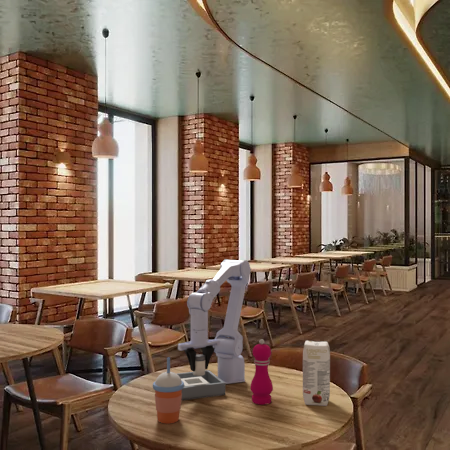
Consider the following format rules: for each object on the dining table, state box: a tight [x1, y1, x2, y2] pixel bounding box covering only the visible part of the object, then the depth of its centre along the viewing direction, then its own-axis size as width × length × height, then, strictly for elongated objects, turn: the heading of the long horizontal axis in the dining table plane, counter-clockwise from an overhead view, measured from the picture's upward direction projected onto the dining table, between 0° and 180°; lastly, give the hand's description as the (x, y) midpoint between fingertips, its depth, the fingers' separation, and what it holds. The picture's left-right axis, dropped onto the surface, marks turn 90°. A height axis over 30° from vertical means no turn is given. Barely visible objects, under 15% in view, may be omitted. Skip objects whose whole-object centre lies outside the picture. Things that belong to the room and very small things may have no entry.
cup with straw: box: [152, 356, 184, 425], centre depth 147 cm, size 9×9×18 cm
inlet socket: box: [181, 376, 209, 387], centre depth 173 cm, size 8×8×3 cm
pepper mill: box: [250, 338, 274, 406], centre depth 162 cm, size 7×7×20 cm
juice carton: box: [302, 340, 331, 407], centre depth 162 cm, size 8×9×19 cm
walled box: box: [176, 369, 226, 402], centre depth 173 cm, size 17×16×4 cm
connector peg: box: [192, 353, 206, 376], centre depth 169 cm, size 4×4×6 cm
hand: (199, 369), depth 169 cm, fingers closed on connector peg, 4 cm apart
